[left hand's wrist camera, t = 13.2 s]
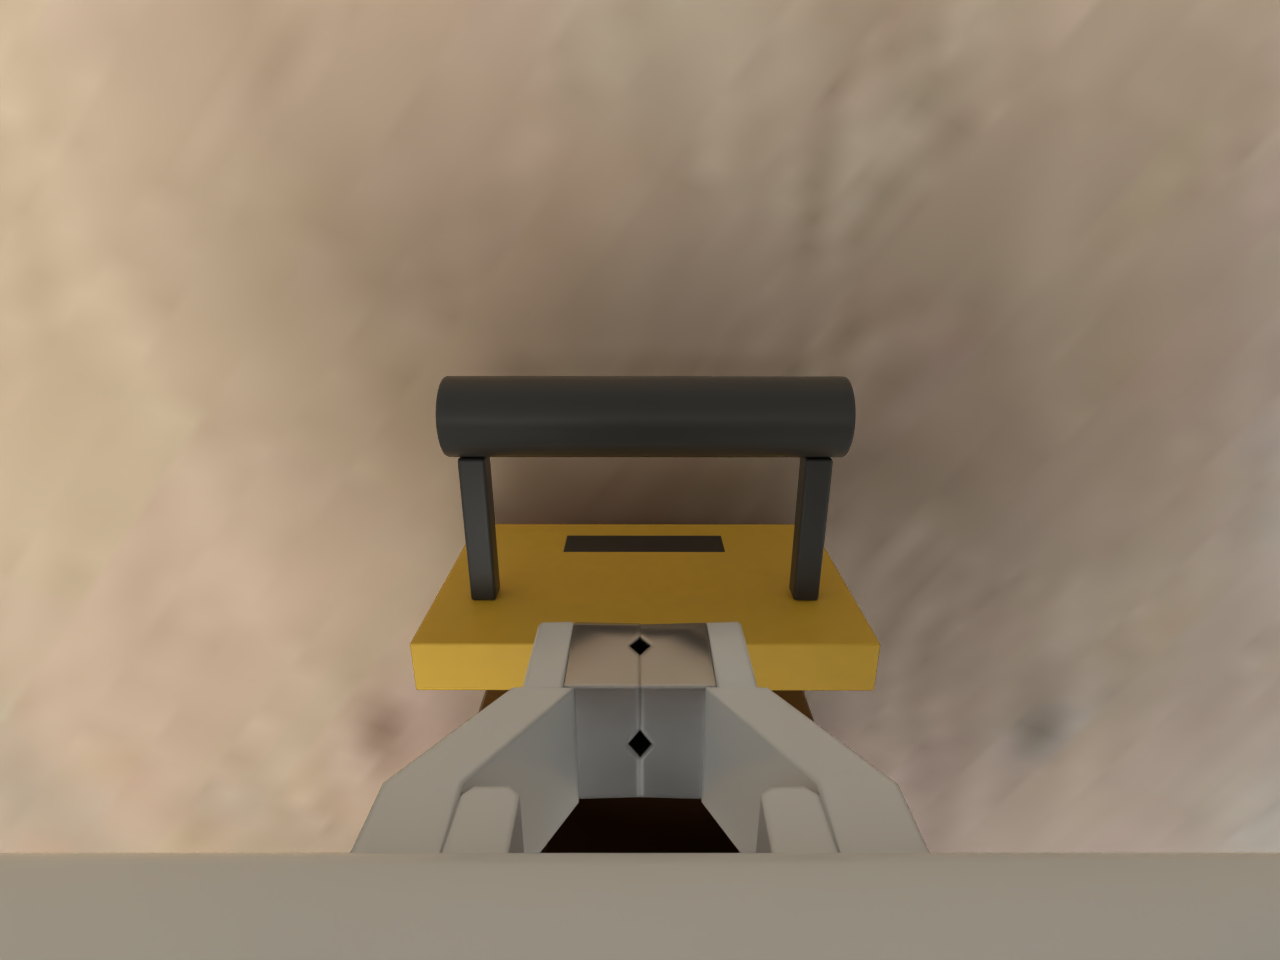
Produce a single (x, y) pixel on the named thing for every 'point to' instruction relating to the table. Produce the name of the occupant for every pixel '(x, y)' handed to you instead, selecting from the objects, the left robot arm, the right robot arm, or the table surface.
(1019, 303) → the table surface
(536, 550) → the drawer
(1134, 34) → the table surface
